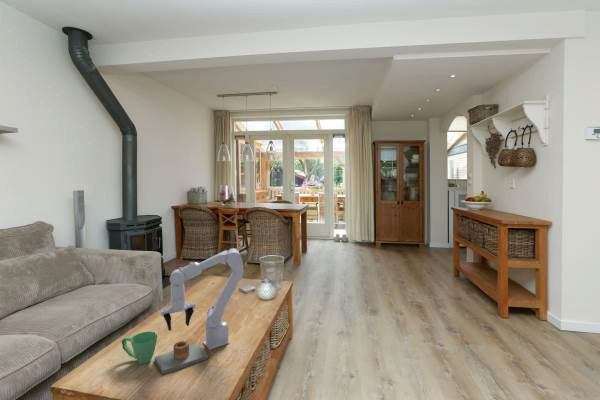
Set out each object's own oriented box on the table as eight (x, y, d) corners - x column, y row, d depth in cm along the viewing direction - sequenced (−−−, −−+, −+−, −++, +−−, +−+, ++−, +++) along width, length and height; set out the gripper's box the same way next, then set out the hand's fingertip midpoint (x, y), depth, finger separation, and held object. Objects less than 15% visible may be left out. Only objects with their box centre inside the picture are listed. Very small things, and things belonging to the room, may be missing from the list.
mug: (162, 355, 137) (162, 332, 137) (149, 368, 128) (148, 344, 127) (130, 352, 139) (130, 330, 139) (115, 365, 130) (114, 341, 129)
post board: (197, 346, 144) (197, 335, 144) (207, 358, 135) (207, 347, 134) (154, 360, 133) (154, 348, 133) (162, 374, 124) (162, 362, 123)
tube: (186, 351, 138) (185, 339, 137) (190, 357, 133) (190, 345, 133) (172, 355, 134) (172, 344, 134) (176, 361, 130) (176, 349, 129)
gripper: (163, 304, 134) (163, 335, 135) (197, 296, 143) (197, 326, 144) (158, 299, 140) (159, 329, 141) (192, 291, 148) (192, 320, 149)
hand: (178, 327), depth 142 cm, fingers open, 7 cm apart
